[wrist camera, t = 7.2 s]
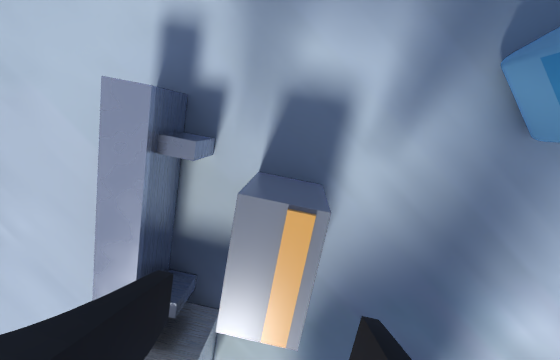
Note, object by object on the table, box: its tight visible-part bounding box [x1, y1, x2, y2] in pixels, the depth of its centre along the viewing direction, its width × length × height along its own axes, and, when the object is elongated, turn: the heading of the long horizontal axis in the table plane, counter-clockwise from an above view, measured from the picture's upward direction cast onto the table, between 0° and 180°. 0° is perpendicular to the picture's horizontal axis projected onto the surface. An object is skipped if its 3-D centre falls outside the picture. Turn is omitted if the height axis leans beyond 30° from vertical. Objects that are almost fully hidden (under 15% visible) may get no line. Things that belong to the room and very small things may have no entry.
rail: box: [93, 76, 219, 360], centre depth 15 cm, size 19×6×6 cm, turn 169°
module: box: [216, 172, 331, 351], centre depth 15 cm, size 7×4×6 cm, turn 170°
